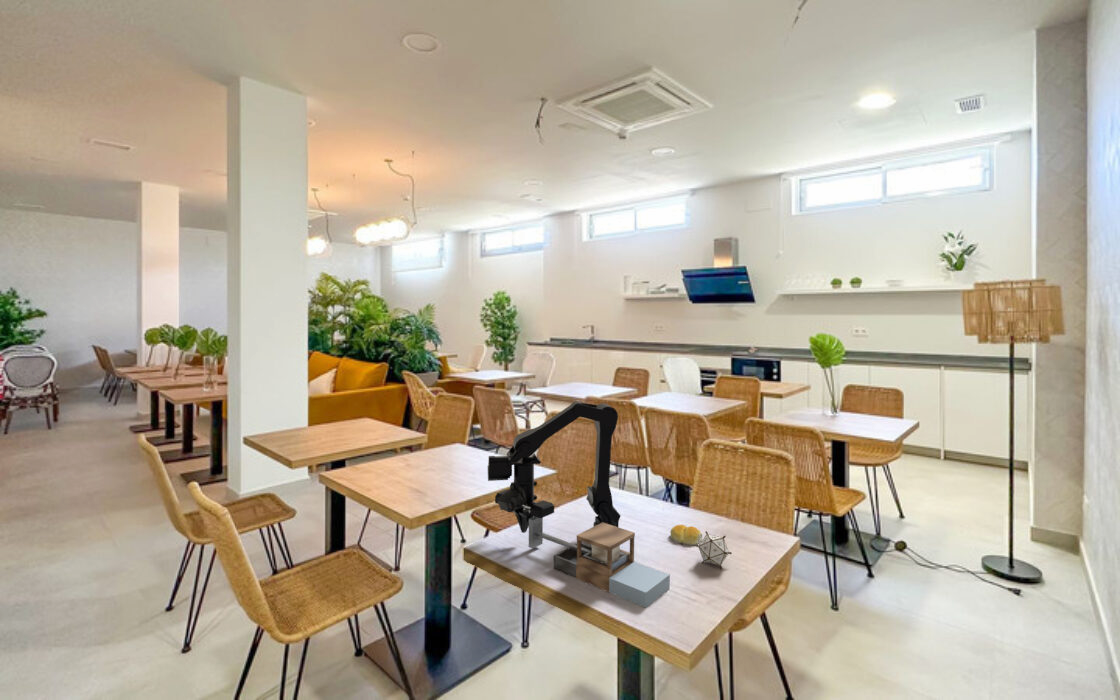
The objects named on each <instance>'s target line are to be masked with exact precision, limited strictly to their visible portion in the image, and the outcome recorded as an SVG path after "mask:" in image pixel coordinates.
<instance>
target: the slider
mask: <svg viewBox="0 0 1120 700" xmlns="http://www.w3.org/2000/svg"><path fill="white" fill-rule="evenodd" d="M543 518H544V517H543ZM543 518H538V517H535V516H533V517H532V518H530V519H529V527H528V548H530V549H535V548H537V547H539V546H541V545H543V544H544V543H543V539H544V540H547V541H550V542H552V543H554V544H557V545H559V546H563V547H565V548H570V549H573V550H576V551H577V545H575V543H571V542H569V541H566V540H563V539H561V538H558V537H555V536H552V535H549V534H546V533H544V532H543V527H544V526H543V523H544V519H543ZM581 553H584V554H585V555H583V557H584V558H587V559H589V560H592V561H594V562H597V563H600V564H602V565H605V566H607V563H604V562H602V561H599V560H596V559H594V558H592V551H591V550H588V549H585V548H582V547H581ZM626 562H628V554H626V553H623V552H620V558H619V559H617V560H615V561H614V562H612V571H614V570H616V569H617V568H619V567H620V566H622V565H623V564H625V563H626Z"/></svg>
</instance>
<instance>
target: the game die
mask: <svg viewBox="0 0 1120 700" xmlns="http://www.w3.org/2000/svg"><path fill="white" fill-rule="evenodd" d="M705 534H706V535H705V536H704V538H702V540H701V542H700V543H698V544H696V545H694V546H695V547H696V548H698V550H699V553H700V555H701V558H702V561H701V564H705V563H708V564H712V565H716V566H719V568H720V569H723V566H722V564H723V563H724V561H725V560H726V558H727V557H728V556H729V555H732V554H733V552H731V551H729V548H728V546H727V543H726V540H725V539H726V534H725V535H723V536H717V535H714V534H709V532H708V531H707V530H705Z"/></svg>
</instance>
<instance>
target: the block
mask: <svg viewBox="0 0 1120 700" xmlns="http://www.w3.org/2000/svg"><path fill="white" fill-rule="evenodd" d="M591 546H592V558H594V559H596V560H599V561H602V562H604V563H607V550H605V549H602V548H599V547H597V546H594V545H591ZM620 546H621V545H619V546H618V547H616V548H614V549H613V550H612V562H614V561H615V560H617V559H619V558H620V548H621V547H620Z"/></svg>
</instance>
